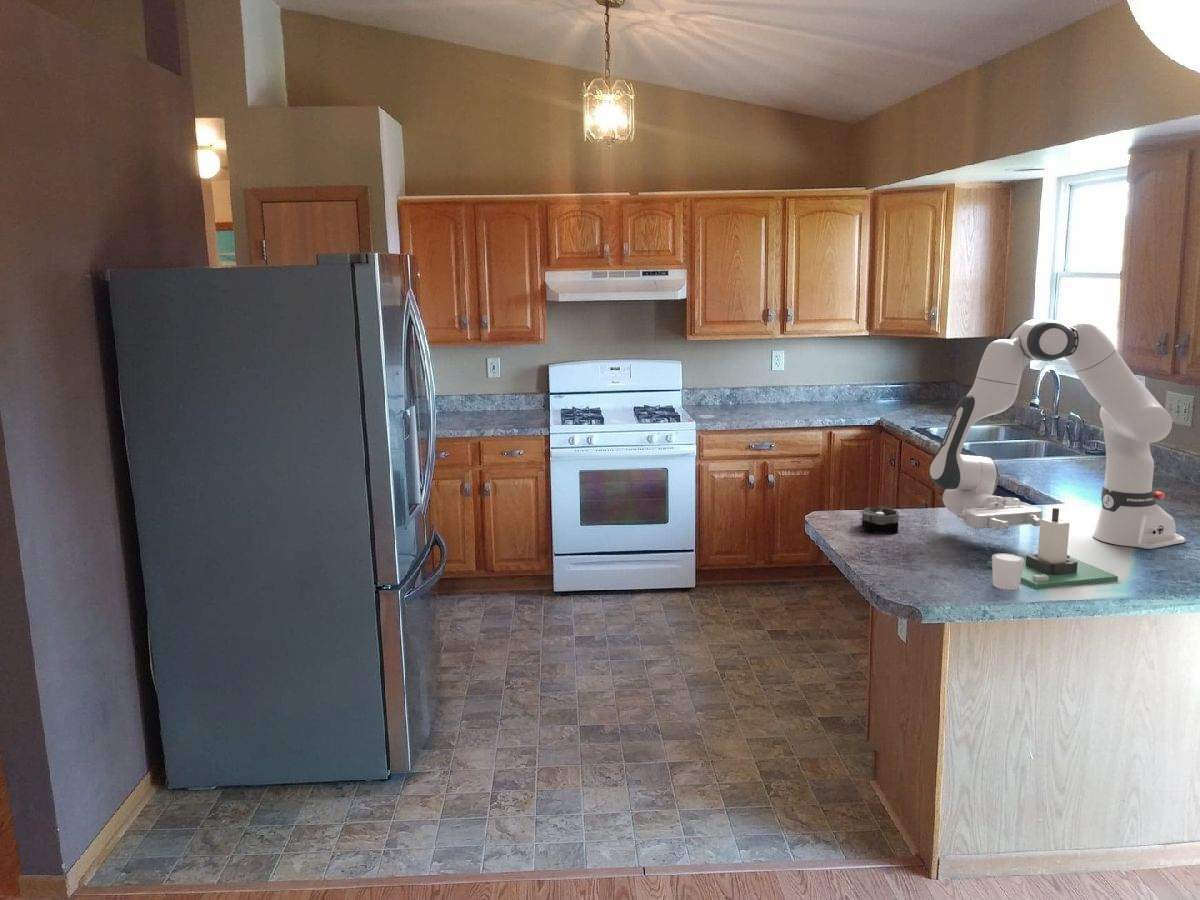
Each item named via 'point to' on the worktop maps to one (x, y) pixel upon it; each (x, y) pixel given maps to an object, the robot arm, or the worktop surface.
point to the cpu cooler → (880, 520)
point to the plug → (1053, 539)
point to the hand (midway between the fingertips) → (1022, 524)
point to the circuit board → (1060, 573)
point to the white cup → (1007, 570)
